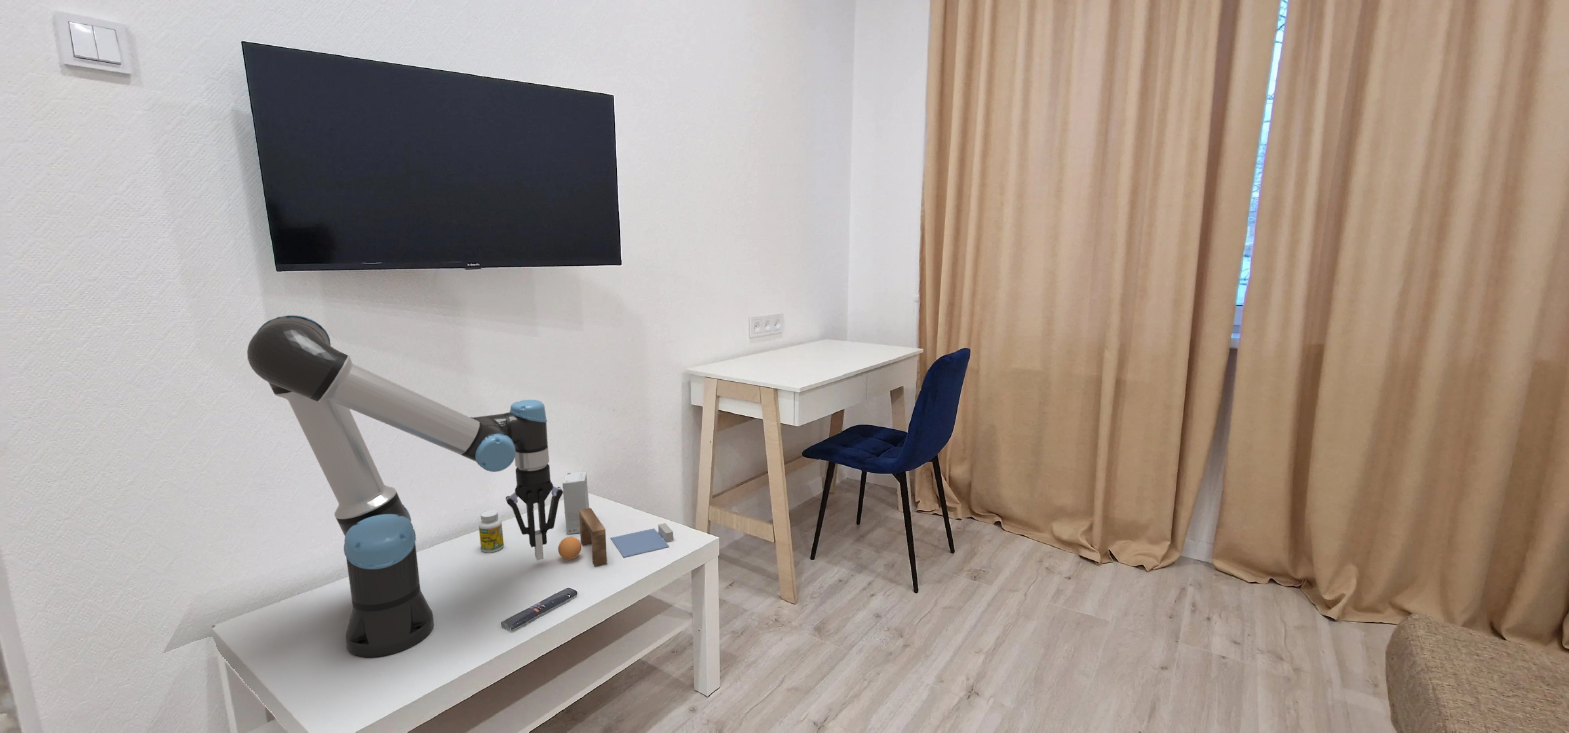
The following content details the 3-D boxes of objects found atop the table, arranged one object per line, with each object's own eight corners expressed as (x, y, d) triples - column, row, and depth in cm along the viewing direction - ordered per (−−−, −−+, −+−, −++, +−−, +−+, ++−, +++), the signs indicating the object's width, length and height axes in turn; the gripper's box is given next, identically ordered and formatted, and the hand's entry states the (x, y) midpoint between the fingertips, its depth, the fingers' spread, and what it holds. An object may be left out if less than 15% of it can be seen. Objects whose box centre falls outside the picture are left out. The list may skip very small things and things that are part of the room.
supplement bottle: (506, 543, 172) (503, 508, 170) (500, 552, 166) (497, 517, 164) (484, 544, 171) (481, 509, 169) (478, 553, 166) (474, 518, 164)
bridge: (594, 567, 160) (592, 531, 158) (580, 542, 172) (579, 510, 170) (607, 564, 161) (605, 529, 159) (592, 540, 174) (590, 507, 172)
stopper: (666, 542, 173) (665, 533, 172) (658, 533, 178) (658, 524, 178) (673, 540, 174) (673, 531, 173) (665, 531, 179) (665, 523, 179)
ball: (587, 544, 163) (578, 564, 162) (581, 535, 167) (573, 555, 167) (565, 540, 160) (557, 561, 160) (560, 531, 164) (552, 552, 164)
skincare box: (588, 533, 178) (585, 481, 175) (565, 535, 176) (562, 482, 173) (590, 520, 186) (587, 470, 183) (567, 521, 184) (565, 471, 181)
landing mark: (623, 557, 164) (623, 557, 164) (610, 538, 175) (610, 537, 175) (669, 547, 170) (669, 546, 170) (654, 529, 181) (654, 528, 180)
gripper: (557, 456, 161) (563, 545, 166) (500, 465, 155) (508, 557, 160) (564, 465, 155) (570, 557, 160) (504, 475, 149) (513, 570, 154)
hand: (539, 557), depth 160 cm, fingers closed
